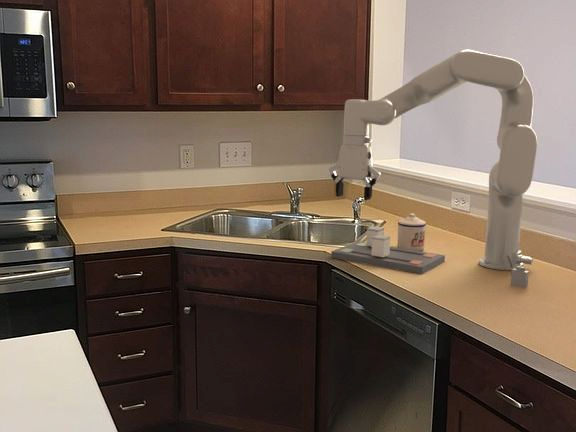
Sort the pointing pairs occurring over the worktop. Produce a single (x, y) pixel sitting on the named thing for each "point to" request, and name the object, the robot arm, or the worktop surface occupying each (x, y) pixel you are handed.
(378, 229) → the on switch
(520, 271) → the lighter
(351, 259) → the panel
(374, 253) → the beige slider knob
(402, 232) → the teacup with lid
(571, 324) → the worktop surface
